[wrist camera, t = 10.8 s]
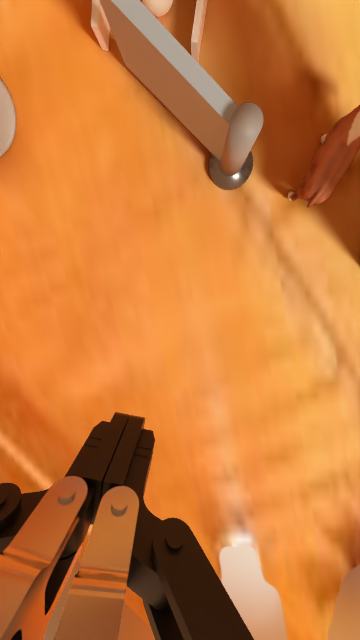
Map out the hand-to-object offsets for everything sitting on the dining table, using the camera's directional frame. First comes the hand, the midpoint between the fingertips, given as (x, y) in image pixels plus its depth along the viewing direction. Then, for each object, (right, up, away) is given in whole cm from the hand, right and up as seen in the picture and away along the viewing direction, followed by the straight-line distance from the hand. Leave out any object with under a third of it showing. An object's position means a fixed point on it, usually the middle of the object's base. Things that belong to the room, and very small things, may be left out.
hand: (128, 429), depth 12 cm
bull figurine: (+22, +27, +21) cm, 40 cm away
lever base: (+10, +27, +22) cm, 36 cm away
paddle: (+3, +32, +19) cm, 38 cm away
